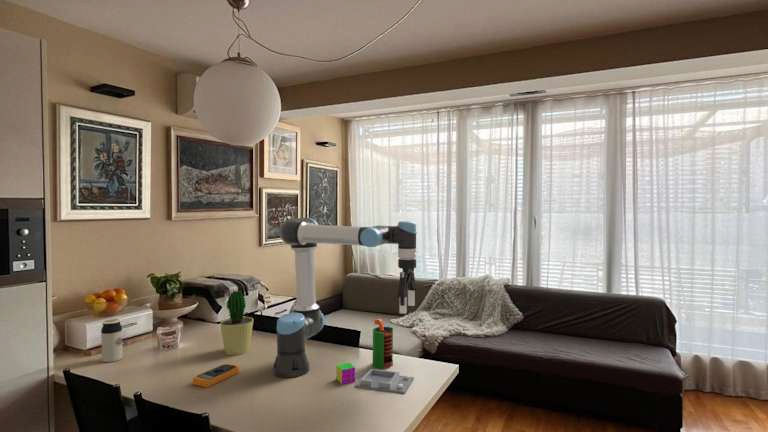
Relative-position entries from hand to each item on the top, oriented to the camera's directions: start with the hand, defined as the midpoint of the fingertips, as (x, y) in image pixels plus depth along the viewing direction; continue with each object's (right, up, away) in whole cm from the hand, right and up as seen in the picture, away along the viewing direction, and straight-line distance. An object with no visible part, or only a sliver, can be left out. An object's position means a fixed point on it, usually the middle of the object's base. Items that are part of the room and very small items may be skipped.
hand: (407, 309), depth 179 cm
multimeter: (-78, -28, -3) cm, 83 cm away
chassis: (-9, -27, -9) cm, 30 cm away
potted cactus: (-81, -27, +29) cm, 90 cm away
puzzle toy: (-25, -27, -6) cm, 38 cm away
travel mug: (-135, -27, +19) cm, 139 cm away
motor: (-10, -27, +10) cm, 30 cm away
